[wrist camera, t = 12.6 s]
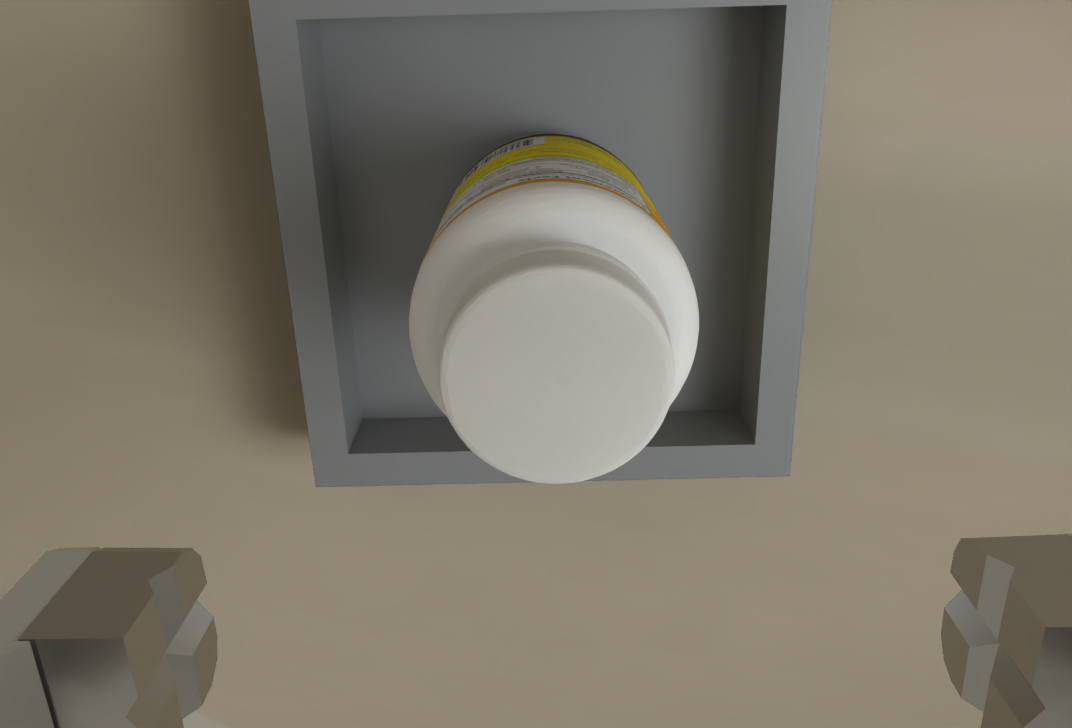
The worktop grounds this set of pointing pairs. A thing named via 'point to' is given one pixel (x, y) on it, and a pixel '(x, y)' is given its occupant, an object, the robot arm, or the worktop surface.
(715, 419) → the tray
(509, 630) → the worktop surface
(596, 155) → the supplement bottle
